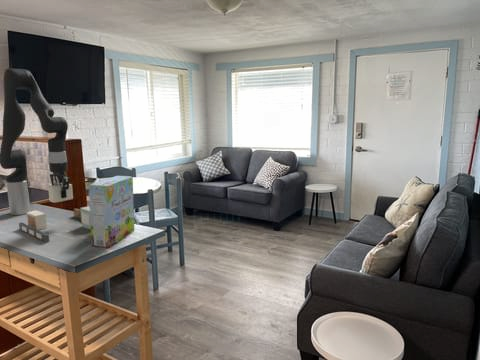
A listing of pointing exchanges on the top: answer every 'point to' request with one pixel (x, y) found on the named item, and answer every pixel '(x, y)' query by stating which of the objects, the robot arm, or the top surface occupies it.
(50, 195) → the box
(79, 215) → the shelf back lip
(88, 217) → the sage tea tin
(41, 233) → the rail
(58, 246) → the top surface
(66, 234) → the top surface
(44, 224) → the faced twin box
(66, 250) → the top surface
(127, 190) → the snack box
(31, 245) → the top surface
